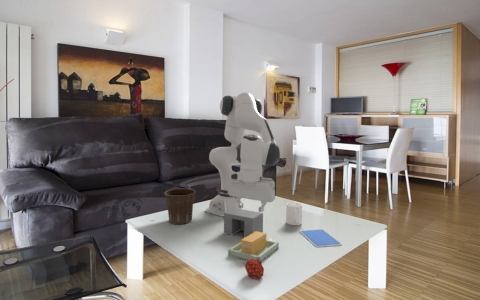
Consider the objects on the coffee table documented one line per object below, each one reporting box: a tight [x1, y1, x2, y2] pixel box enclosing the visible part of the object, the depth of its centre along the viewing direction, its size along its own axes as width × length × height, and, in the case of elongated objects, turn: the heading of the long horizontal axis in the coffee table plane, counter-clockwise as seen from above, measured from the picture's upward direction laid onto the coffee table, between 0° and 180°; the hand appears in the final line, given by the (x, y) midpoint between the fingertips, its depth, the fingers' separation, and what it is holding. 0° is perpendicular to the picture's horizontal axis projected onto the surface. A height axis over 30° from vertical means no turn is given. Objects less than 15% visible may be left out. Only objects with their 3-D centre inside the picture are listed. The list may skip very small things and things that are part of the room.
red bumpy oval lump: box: [244, 259, 265, 279], centre depth 114 cm, size 6×7×8 cm
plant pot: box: [164, 188, 196, 225], centre depth 173 cm, size 16×16×16 cm
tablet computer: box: [299, 229, 343, 248], centre depth 150 cm, size 19×13×1 cm, turn 12°
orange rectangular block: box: [240, 231, 267, 255], centre depth 133 cm, size 5×13×6 cm, turn 147°
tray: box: [227, 239, 280, 262], centre depth 134 cm, size 14×18×2 cm
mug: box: [285, 201, 303, 227], centre depth 169 cm, size 12×8×10 cm
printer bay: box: [223, 208, 264, 238], centre depth 156 cm, size 16×10×10 cm, turn 59°
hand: (250, 209), depth 130 cm, fingers open, 8 cm apart
